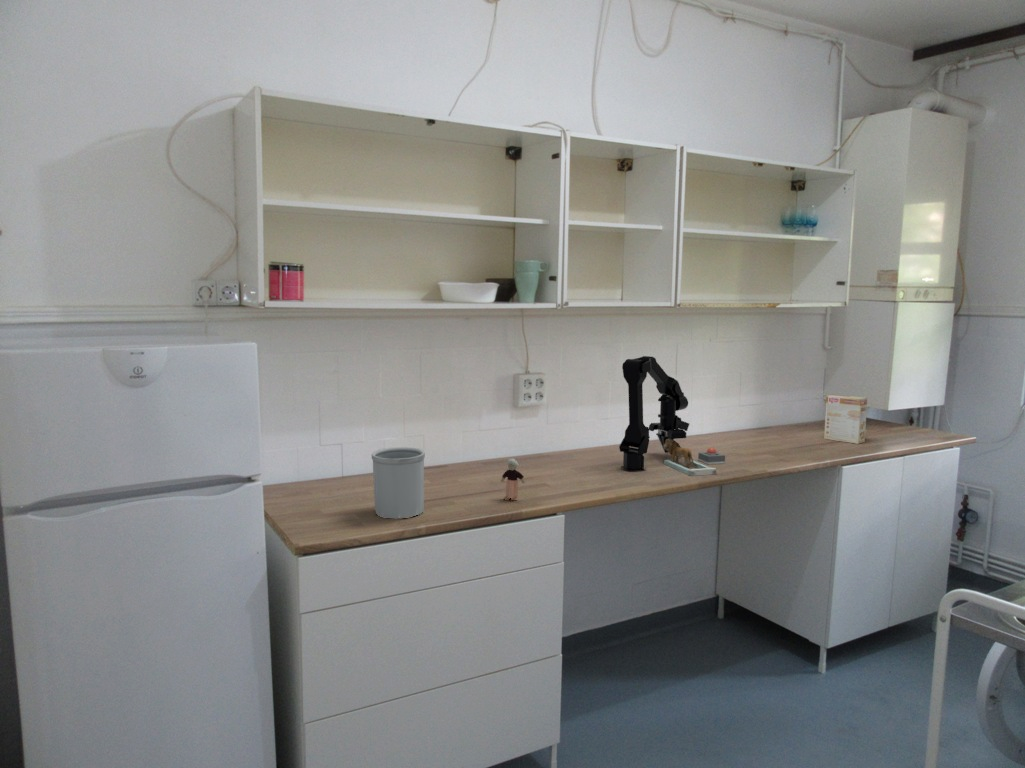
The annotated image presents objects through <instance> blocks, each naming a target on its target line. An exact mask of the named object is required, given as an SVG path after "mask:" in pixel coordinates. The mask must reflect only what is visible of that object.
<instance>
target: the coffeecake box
mask: <svg viewBox="0 0 1025 768" xmlns="http://www.w3.org/2000/svg"><path fill="white" fill-rule="evenodd" d="M825 398H826V401H825V417H824V418H825V419H824V433H823V434H824V435H823V439H824V440H828V441H835V442H836V441H837V442H843V443H851V444H857V445H858V444H859V445H860V444H862V443H865V442H866V427H867V426H866V424H867V413H868V412H867V410H868V406H867V405H868V397H864V396H863V397H862V396H853V395H843V394H829V395H828V394H827V395H826V396H825Z"/></svg>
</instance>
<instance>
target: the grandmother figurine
mask: <svg viewBox="0 0 1025 768" xmlns="http://www.w3.org/2000/svg"><path fill="white" fill-rule="evenodd" d="M507 465H508V466H507V467H508V469H507V470H506V471H505V472H504V473H503V475H502V476H501V479H500V482H501V483H504V482H505V479H506V484H505V496H504V497H503V499H505V500H504V501H509V499H510V498H511V499H510V500H511V501H512V500H517V501H519V499H518V495H519V481H518V479H519V480H520V481H521V484H525V483H526V481H525V478H524V475H523V474H522V473H521V472H520V471H518V470H516V469H517V468H518V467H519V462H518V461H517V460H516V459H515V458H509V459H508V460H507Z"/></svg>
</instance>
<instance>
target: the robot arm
mask: <svg viewBox="0 0 1025 768" xmlns="http://www.w3.org/2000/svg"><path fill="white" fill-rule="evenodd" d="M621 368H622V375H623V378H624V380H625V382H626V383H627V387H628V391H627V392H628V425H627V427H626V429H625V430H624V437H623V439H622V441H621V442H620V444H619V446H618V449H619V452H623V461H622V462H623V463H622V464H623V465H622V466H621V467H620V468H621V469H623V470H625V471H627V472H639V471H645V470H646V469H645V468H644V467H645V456H644V455H645V454H647V453H648V448H649V444H650V431H651V432H654V431H657V433H656V436H657V439H659V442H660V444H661V446H662V449H663V452H664V453H665V454H669V452H668V451H667V450H666V449H664V447H663V445H664V444H665V442H666V440H667V439H673V440H674V441H675V439H676V440H678V439H679V440H680V439H686V438H687V431H688V428H689V427H690V423H689V422H686V421H683V420H682V418H681V417H679V416H678V415H677V413H676V412H678V411H682V410H686V408H688V406H689V399H688V398H687V397H686V396H685V393H684V392H683V391H682V388H681V385H680V383H679V381H678V380H677V379H675V378H674V377H672V376H670V375H668V374H667V373H666V371H664V370H665V369H663V368H662V367H661V365H660V364H659V363H658V362H657V359H656V357H654V356H646V355H643V356H641V357H638V358H637V357H636V358H627V359H625V360H624V362H623V363H622V367H621ZM648 375H649V376H650V377H651V378H652V379H653V380H654V382H655V383H656V386H655V387H656V389H657V391H658V393H659V394H661V395H660V397H659V398H658V402H660V411H659V413H658V414H657V417H658V418H659V422H651V423H649V425H648V426H646V425H645V424H644V404H643V403H644V401H643V400H644V399H643V398H644V396H643V393H644V392H643V383H644V382H645V381H646V378H647V376H648Z"/></svg>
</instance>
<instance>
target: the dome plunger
mask: <svg viewBox="0 0 1025 768" xmlns="http://www.w3.org/2000/svg"><path fill="white" fill-rule="evenodd" d="M706 452H707V455H716V452H717V449H716V448H715V447H709V448H707V451H706Z"/></svg>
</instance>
